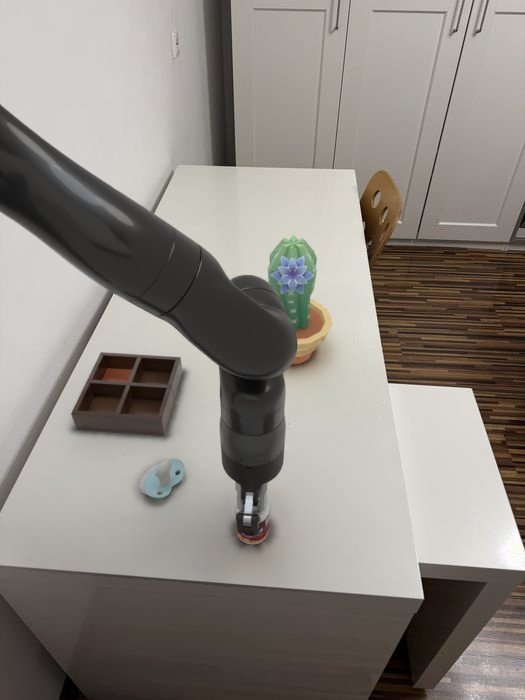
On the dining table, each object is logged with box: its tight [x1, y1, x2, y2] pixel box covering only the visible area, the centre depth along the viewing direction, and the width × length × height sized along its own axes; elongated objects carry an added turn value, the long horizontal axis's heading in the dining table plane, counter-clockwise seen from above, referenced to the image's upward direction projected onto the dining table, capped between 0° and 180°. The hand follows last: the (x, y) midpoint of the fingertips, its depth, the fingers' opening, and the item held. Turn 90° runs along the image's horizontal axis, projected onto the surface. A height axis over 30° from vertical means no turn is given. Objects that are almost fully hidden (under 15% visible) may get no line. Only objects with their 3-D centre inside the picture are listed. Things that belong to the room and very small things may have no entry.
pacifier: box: [138, 458, 186, 500], centre depth 76 cm, size 7×6×6 cm
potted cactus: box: [267, 235, 333, 365], centre depth 93 cm, size 16×15×25 cm
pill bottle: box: [235, 492, 271, 545], centre depth 69 cm, size 5×5×8 cm
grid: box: [70, 351, 184, 436], centre depth 90 cm, size 15×15×4 cm
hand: (252, 513), depth 69 cm, fingers closed on pill bottle, 4 cm apart
